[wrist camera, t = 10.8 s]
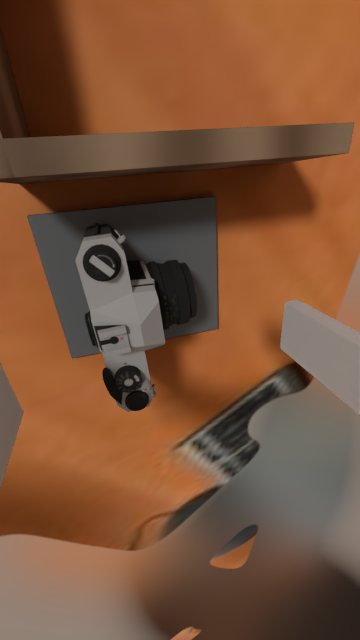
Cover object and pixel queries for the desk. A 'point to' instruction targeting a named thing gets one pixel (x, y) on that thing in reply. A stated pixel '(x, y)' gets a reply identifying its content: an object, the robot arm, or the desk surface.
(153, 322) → the camera
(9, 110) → the cubby
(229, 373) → the desk surface
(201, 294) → the mat
